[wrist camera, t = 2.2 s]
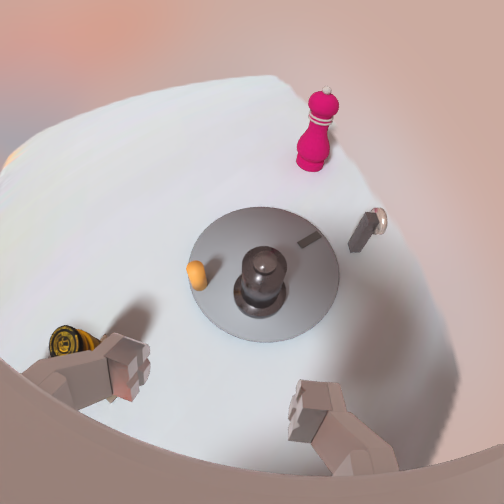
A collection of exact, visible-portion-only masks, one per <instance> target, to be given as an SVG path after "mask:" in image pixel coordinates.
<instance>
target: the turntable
mask: <svg viewBox="0 0 504 504" xmlns="http://www.w3.org/2000/svg"><path fill="white" fill-rule="evenodd" d="M259 246H269V247H272V248H275V249H276V250H278V251H279V252H281V253H282V255H283V256H284V257H285V259H286V262H287V272H286V275H285V278H284V283H285V286H286V298H285V301H284V304H283V306H282V308H281V309H280V310H279V311H278V312H277V313H276V314H275V315H273V316H271V317H269V318H265V319H254V318H251V317H248V316H246V315H245V314H243V313H242V312H241V311H240V310H239V309H238V308H237V306H236V304H235V301H234V295H233V289H234V284H235V282H236V280H237V278H238V277H239V276H240V275H241V274H242V260H243V258H244V256H245V254H246V253H247V252H248V251H249V250H251V249H253V248H255V247H259ZM186 270H187V273H188V278H189V283H190V288H191V291H192V294H193V297H194V299H195V301H196V303H197V305H198V306H199V308H200V309H201V311H202V312H203V313H204V315H205V316H206V317H207V318H208V319H209V320H210V321H211V322H212V323H214V324H215V325H216V326H217V327H219V328H220V329H222V330H223V331H225V332H227V333H228V334H231V335H233V336H235V337H238V338H241V339H244V340H248V341H254V342H278V341H284V340H288V339H291V338H294V337H297V336H299V335H301V334H303V333H305V332H306V331H308V330H310V329H311V328H312V327H314V326H315V325H316V324H317V323H318V322H319V321H320V320H321V319H322V318H323V317H324V316H325V315H326V313H327V312H328V310H329V309H330V307H331V306H332V304H333V301H334V299H335V297H336V293H337V290H338V283H339V270H338V264H337V260H336V257H335V254H334V252H333V250H332V247H331V246H330V244H329V243H328V241H327V239H326V238H325V237H324V236H323V234H322V233H321V232H320V231H319V230H318V229H317V228H316V227H315V226H313V225H312V224H311V223H309V222H308V221H306V220H305V219H303V218H302V217H300V216H298V215H295V214H293V213H291V212H288V211H285V210H281V209H277V208H270V207H250V208H245V209H240V210H237V211H233V212H231V213H228V214H226V215H224V216H222V217H220V218H219V219H217V220H216V221H214V222H213V223H212V224H210V225H209V226H208V227H207V228H206V229H205V230H204V231H203V233H202V234H201V235H200V236H199V238H198V239H197V241H196V243H195V245H194V247H193V249H192V252H191V255H190V259H189V264H188V265H187V268H186Z"/></svg>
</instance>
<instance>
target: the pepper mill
mask: <svg viewBox="0 0 504 504" xmlns="http://www.w3.org/2000/svg"><path fill="white" fill-rule="evenodd" d="M308 105H309V108H310V111H309V115H308V118H309V119H310V123H309V127H308V129H307V130H306V131H305V133H304V134H303V135H302V136H301V137H300V139H299V141H298V144H297V151H298V154H297V159H296V162H297V164H298V166H299V167H300V168H302V169H303V170H306V171H309V172H317V171H319V170H321V169H322V167H323V164H324V160H325V159H326V158H327V157H328V155H329V150H330V146H329V141H328V137H327V131H328V127H329V125H330V124H332V122H333V121H332V120H333V115H335V114H336V113H337V112H338V108H339V102H338V100H337V99H336V97H335V96H334V95H333V94H331V88H330V87H328V86H325V87H323V89H322V91H318V92H315V93H313V94H312V95H311V97H310V99H309V103H308Z"/></svg>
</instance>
